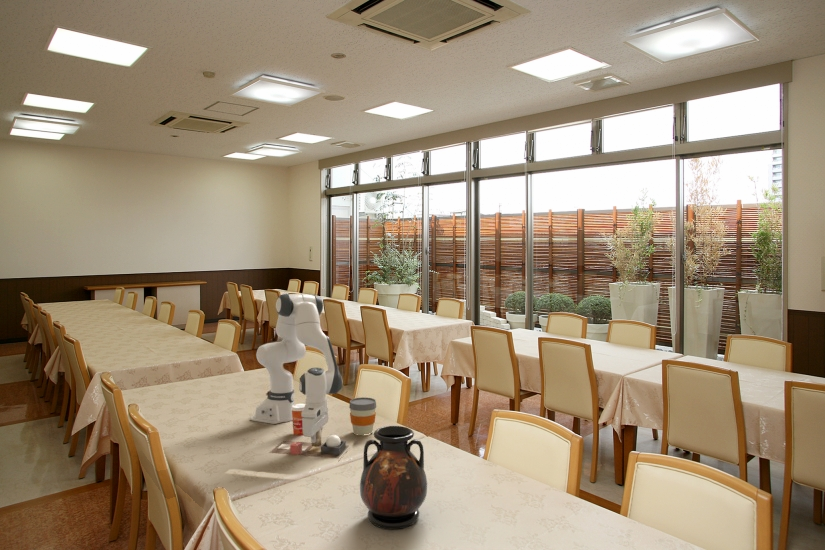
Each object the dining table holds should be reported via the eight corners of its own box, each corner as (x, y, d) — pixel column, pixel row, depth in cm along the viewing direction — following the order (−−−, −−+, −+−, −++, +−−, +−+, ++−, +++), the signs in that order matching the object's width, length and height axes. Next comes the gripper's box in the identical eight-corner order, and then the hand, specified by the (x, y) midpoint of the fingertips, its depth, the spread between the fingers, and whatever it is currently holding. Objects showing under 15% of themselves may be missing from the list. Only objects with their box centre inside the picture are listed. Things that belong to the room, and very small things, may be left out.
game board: (269, 456, 221) (268, 445, 221) (283, 443, 235) (283, 433, 235) (338, 461, 216) (338, 450, 215) (349, 449, 229) (349, 438, 229)
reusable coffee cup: (344, 434, 247) (344, 402, 246) (359, 426, 258) (359, 395, 258) (367, 439, 241) (367, 406, 241) (381, 430, 252) (381, 399, 252)
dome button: (324, 451, 221) (324, 437, 220) (329, 446, 227) (329, 432, 226) (337, 452, 220) (337, 438, 219) (342, 447, 226) (342, 433, 225)
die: (290, 453, 220) (290, 445, 220) (293, 450, 223) (293, 441, 223) (298, 454, 219) (298, 445, 219) (301, 451, 223) (301, 442, 223)
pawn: (310, 446, 223) (310, 424, 223) (313, 442, 227) (313, 421, 226) (319, 446, 222) (319, 424, 222) (322, 443, 226) (322, 421, 226)
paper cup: (287, 437, 244) (287, 406, 243) (298, 431, 250) (298, 402, 250) (301, 439, 240) (301, 409, 239) (312, 434, 247) (311, 404, 246)
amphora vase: (425, 501, 182) (425, 420, 181) (429, 535, 161) (429, 443, 159) (361, 502, 182) (361, 420, 180) (357, 536, 160) (357, 444, 159)
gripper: (318, 400, 235) (318, 431, 235) (299, 414, 215) (299, 448, 215) (331, 400, 233) (332, 432, 234) (314, 415, 213) (314, 449, 214)
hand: (316, 440), depth 224 cm, fingers closed on pawn, 4 cm apart
